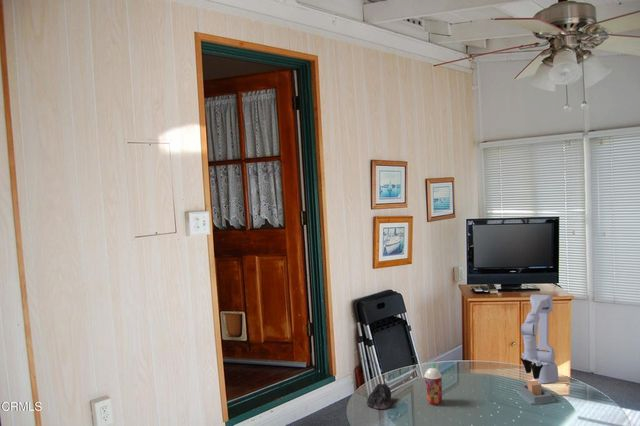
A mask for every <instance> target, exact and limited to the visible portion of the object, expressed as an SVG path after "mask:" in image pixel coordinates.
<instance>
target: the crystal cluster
mask: <svg viewBox="0 0 640 426" xmlns="http://www.w3.org/2000/svg"><path fill="white" fill-rule="evenodd" d="M392 400H393V399H392V392H391V388H390V387H389V386H388V385H387V384H386V383H378V384H377V385H376V386H375V387H374V389H373V390H372V392H371V393H370V394H369V395H368V397H367V399H366V401H367V402H366V405H367V406H368V407H372V408H373V409H376V410H378V409H381V410H385V409H386V410H387V409H388V408H390V407H391V406H392V404H393V401H392Z"/></svg>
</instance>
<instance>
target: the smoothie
mask: <svg viewBox="0 0 640 426" xmlns="http://www.w3.org/2000/svg"><path fill="white" fill-rule="evenodd" d="M430 364H431V365H430V366H431V367H430V368H427V370H426V371H425V373H424V375H423V377H424V382H425V389H426V396H427V401H428V403H429V404H430V405H432V406H438V405H441V404H442V401H443V377H442V376H443V374H442V373H441V372H440V370H439V369H438V368H436V367H434V364H433V362H431V363H430Z"/></svg>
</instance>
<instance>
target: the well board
mask: <svg viewBox="0 0 640 426" xmlns="http://www.w3.org/2000/svg"><path fill="white" fill-rule="evenodd" d="M518 387H519V390H515V392H516V393H517V394H518V396H520V397H521V398H522V399H523V400H524V401H526V402H527V403H528V404H529V405H531V406H534V405H541V404H548V403H556V402H557V401H556V399H555V398H553V395H552V394H551V393H550V392H548V391H547V390H545V389H544V388H543V387H541V393H542V395H538V396H535V395H534V394H533V393H532V392H530V391H529V390H528V386H527V383H526V384H519V385H518Z"/></svg>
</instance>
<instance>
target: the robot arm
mask: <svg viewBox="0 0 640 426" xmlns="http://www.w3.org/2000/svg"><path fill="white" fill-rule="evenodd" d="M553 299H554V298H553V296H552V295H551V294H537V293H536V294H535V293H532V294H531V295H530V297H529V303H530V305H531V309H530V312H528V313H527V316H526V318H525V321H524V322H523V323H521V326H520V333H521V336H522V337H521V338H522V340H523V350H524V351H522V352H521V356H522V357H520V361H521V362H522V364H523V367H524V370H525V372H526V374H531V373H532V375H533V376H532V377H533V379H534V380H535V381H537V382H539V383H540V384H541V385H542V384H549V383H550V384H551V383H558V382H560V379H559V370H558V369H559V368H558V365H557V363H556V362H555V361H556V354H555V348H554V347H552V345H550V343H549V338H550V337H549V332H550V331H549V327H550V325H549V322H550V321H549V320H550V319H549V315H550V312H552V311H553V309H554V300H553ZM537 335H538V344H537Z"/></svg>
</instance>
